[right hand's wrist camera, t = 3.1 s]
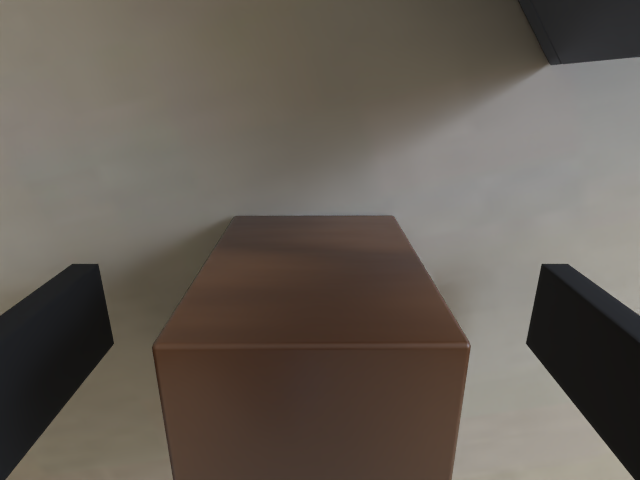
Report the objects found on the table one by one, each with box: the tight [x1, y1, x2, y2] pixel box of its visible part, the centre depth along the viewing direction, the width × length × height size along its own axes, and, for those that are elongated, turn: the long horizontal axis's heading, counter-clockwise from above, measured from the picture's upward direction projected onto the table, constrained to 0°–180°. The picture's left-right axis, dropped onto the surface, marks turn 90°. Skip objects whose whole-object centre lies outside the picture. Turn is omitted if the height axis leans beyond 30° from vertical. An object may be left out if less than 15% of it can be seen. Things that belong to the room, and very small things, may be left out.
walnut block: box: [152, 216, 471, 480], centre depth 11 cm, size 5×5×7 cm
